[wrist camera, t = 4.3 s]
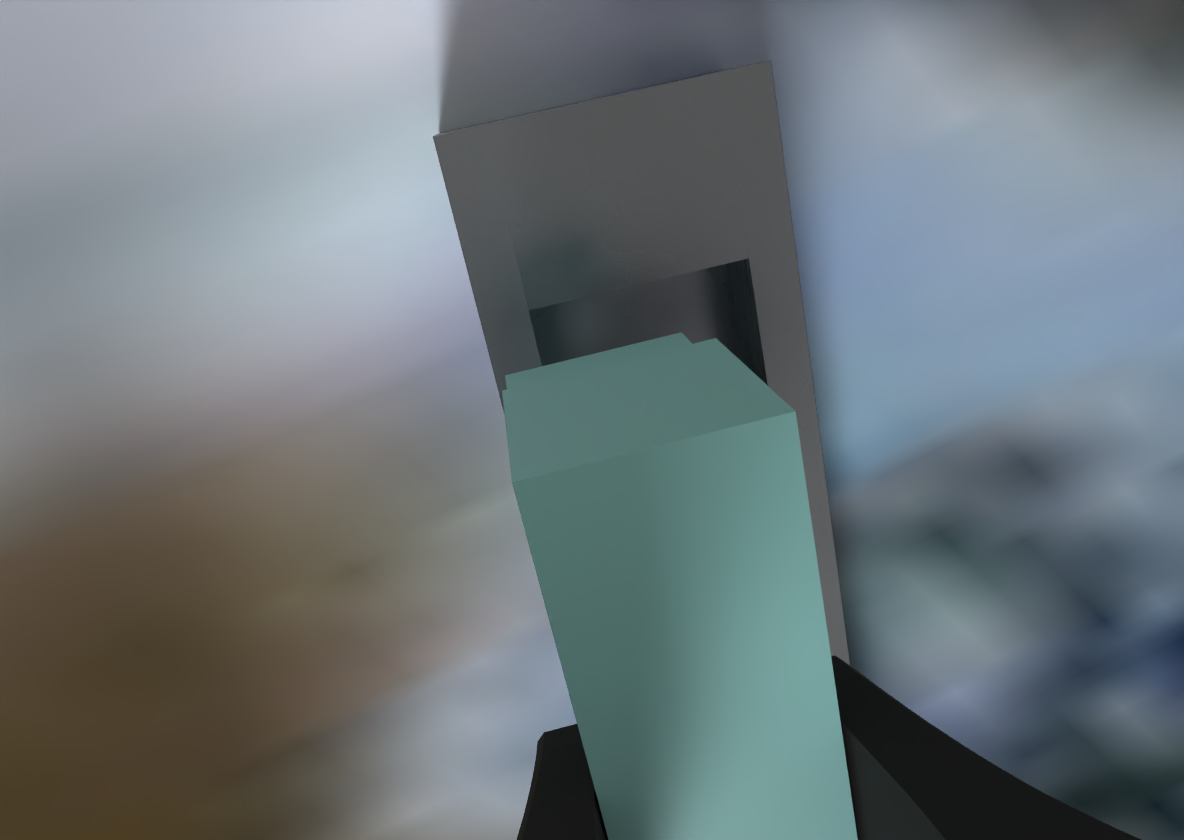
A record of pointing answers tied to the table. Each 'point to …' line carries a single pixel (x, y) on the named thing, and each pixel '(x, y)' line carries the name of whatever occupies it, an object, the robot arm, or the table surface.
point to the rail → (644, 243)
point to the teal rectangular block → (682, 591)
